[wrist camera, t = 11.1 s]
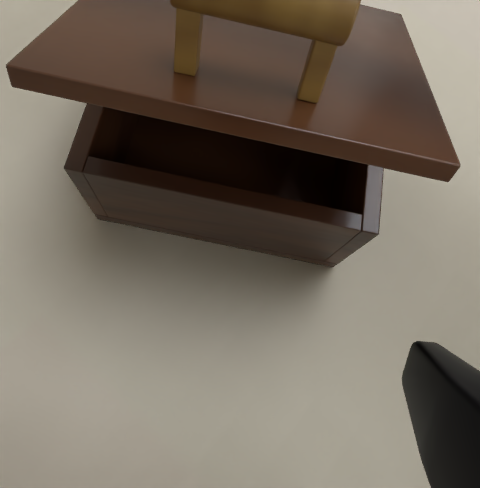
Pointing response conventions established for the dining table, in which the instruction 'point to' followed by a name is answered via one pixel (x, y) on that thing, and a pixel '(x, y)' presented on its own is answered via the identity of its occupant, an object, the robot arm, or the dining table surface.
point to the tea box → (223, 187)
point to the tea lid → (252, 74)
